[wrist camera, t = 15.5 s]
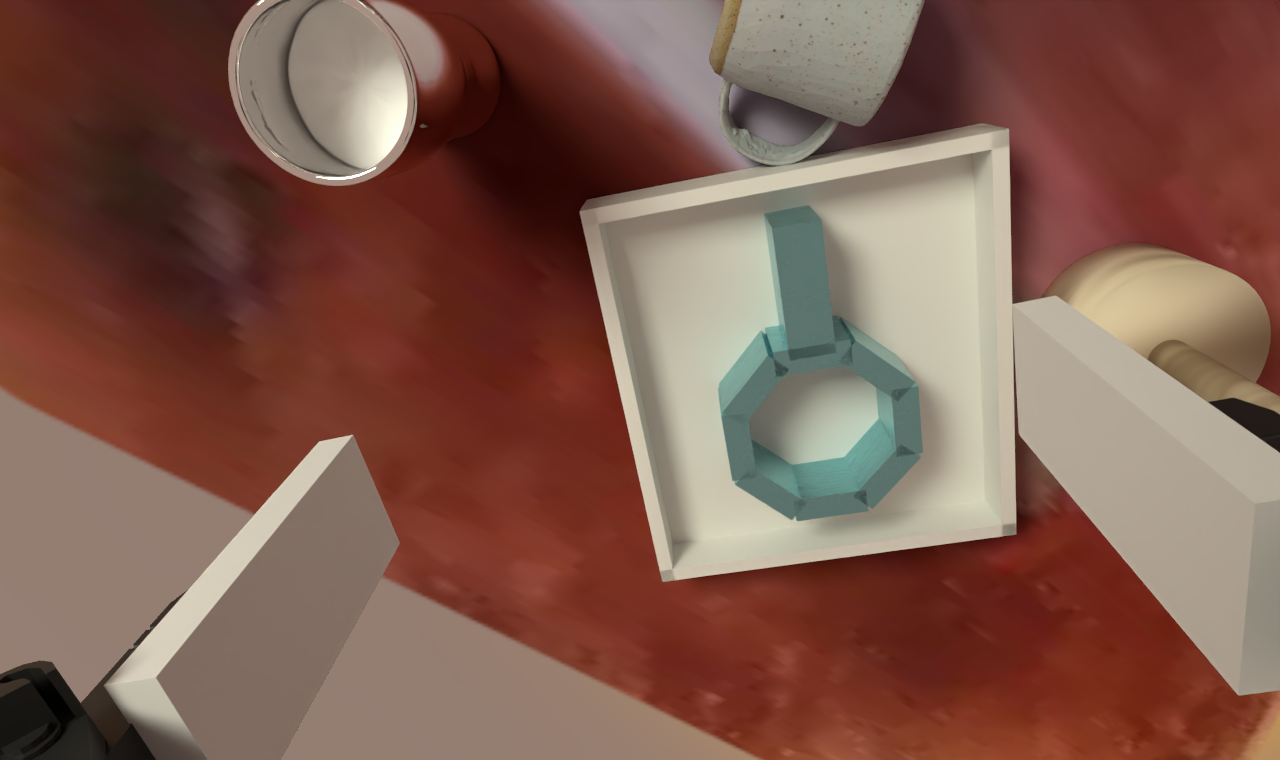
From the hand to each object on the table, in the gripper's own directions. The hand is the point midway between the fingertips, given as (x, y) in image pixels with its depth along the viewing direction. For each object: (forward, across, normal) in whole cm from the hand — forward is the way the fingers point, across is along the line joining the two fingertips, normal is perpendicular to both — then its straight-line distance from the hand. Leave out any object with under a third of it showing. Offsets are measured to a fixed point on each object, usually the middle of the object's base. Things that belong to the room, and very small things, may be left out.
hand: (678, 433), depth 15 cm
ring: (+28, +5, -11) cm, 31 cm away
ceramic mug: (+30, +7, +5) cm, 31 cm away
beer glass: (+29, -11, +8) cm, 32 cm away
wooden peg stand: (+29, +22, -14) cm, 39 cm away
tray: (+29, +5, -12) cm, 32 cm away
